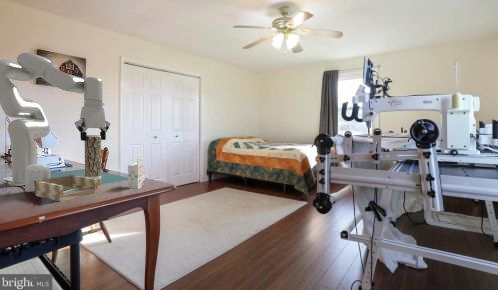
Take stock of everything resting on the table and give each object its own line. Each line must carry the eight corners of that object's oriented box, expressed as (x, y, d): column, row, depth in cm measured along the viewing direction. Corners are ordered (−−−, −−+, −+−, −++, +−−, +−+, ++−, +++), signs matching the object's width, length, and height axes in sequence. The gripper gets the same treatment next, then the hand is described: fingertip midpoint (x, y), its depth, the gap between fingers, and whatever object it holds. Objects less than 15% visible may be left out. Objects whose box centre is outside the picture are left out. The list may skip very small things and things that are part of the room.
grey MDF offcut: (60, 198, 104) (60, 194, 103) (83, 192, 113) (83, 188, 113) (65, 199, 103) (65, 195, 102) (89, 193, 112) (89, 189, 112)
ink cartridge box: (135, 185, 133) (135, 156, 132) (144, 185, 133) (145, 157, 132) (127, 189, 125) (127, 158, 124) (137, 189, 125) (137, 159, 124)
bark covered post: (93, 189, 122) (93, 136, 120) (81, 188, 124) (81, 135, 122) (104, 186, 129) (104, 135, 127) (92, 184, 130) (92, 135, 128)
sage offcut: (58, 201, 104) (54, 200, 104) (79, 195, 113) (76, 194, 114) (57, 193, 103) (54, 193, 104) (79, 188, 113) (76, 187, 113)
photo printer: (52, 191, 116) (52, 164, 115) (43, 194, 111) (43, 165, 110) (33, 190, 117) (32, 162, 116) (23, 192, 113) (22, 164, 112)
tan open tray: (34, 198, 106) (34, 181, 105) (73, 189, 120) (72, 174, 119) (60, 204, 99) (59, 186, 99) (97, 194, 114) (97, 179, 113)
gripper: (104, 105, 133) (104, 139, 134) (69, 102, 117) (70, 140, 118) (114, 105, 130) (114, 140, 131) (80, 102, 114) (81, 141, 115)
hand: (93, 140), depth 125 cm, fingers open, 9 cm apart
